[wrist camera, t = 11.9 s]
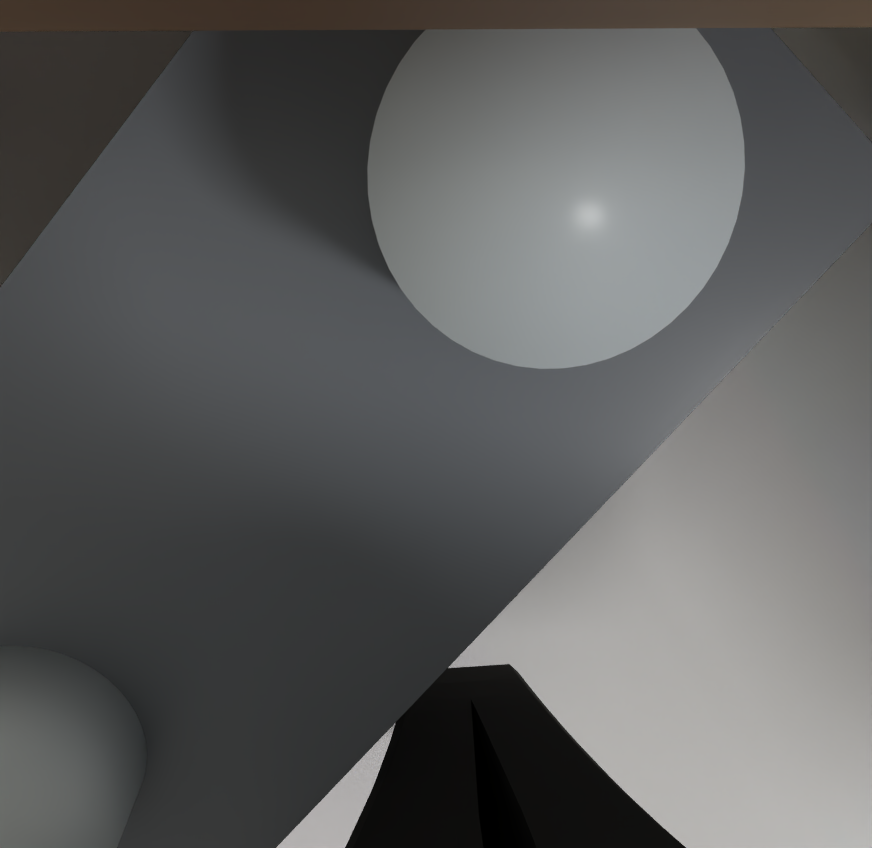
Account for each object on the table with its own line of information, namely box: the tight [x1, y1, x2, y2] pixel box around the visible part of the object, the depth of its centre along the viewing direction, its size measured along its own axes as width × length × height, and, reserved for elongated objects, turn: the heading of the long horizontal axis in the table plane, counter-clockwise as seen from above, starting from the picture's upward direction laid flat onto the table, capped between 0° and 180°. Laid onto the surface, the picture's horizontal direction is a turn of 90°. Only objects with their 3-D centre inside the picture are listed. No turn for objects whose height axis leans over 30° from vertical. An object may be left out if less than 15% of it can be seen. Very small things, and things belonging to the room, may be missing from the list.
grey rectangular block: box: [0, 28, 872, 848], centre depth 7 cm, size 4×10×6 cm, turn 139°
